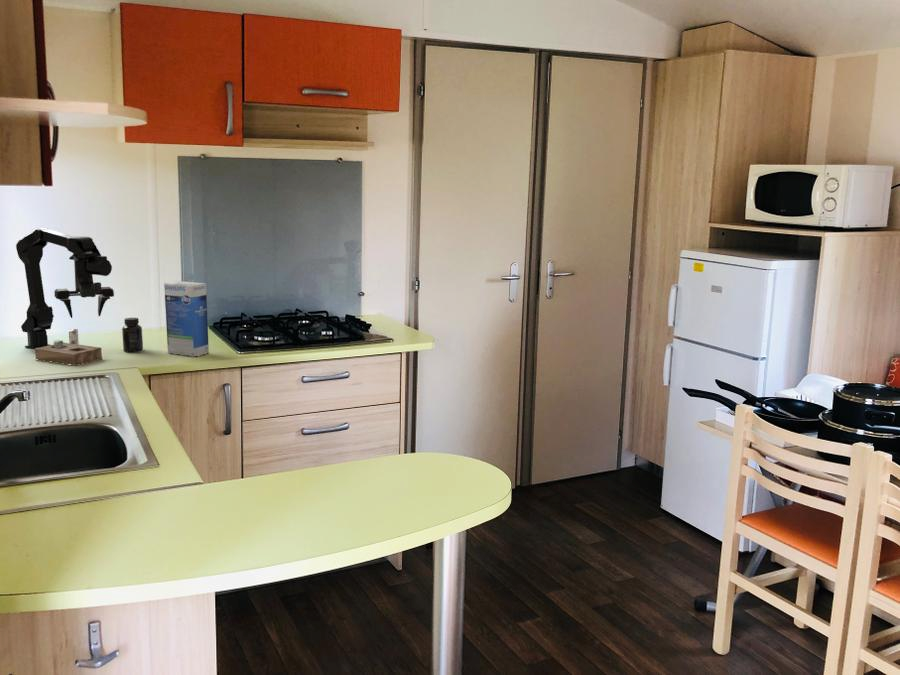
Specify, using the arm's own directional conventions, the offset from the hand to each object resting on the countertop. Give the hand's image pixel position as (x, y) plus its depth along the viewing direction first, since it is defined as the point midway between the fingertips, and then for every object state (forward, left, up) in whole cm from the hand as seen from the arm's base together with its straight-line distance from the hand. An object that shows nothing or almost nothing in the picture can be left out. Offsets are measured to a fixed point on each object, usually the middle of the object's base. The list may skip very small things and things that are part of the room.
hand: (85, 316), depth 306 cm
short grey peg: (-4, -9, -14) cm, 17 cm away
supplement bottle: (+10, +12, -14) cm, 21 cm away
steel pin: (-7, +1, -14) cm, 15 cm away
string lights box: (+30, +18, -14) cm, 37 cm away
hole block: (+1, -9, -13) cm, 16 cm away
